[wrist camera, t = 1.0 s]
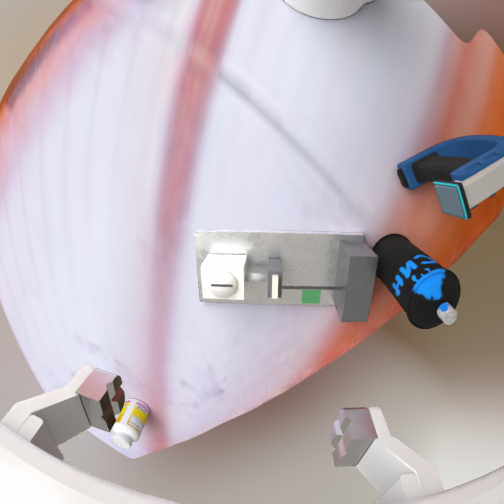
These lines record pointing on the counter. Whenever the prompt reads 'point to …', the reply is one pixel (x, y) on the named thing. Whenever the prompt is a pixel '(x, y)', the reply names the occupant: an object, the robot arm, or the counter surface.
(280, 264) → the block
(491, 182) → the handheld scanner
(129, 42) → the counter surface
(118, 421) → the supplement bottle
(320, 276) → the base
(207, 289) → the gauge body
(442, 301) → the black water bottle
